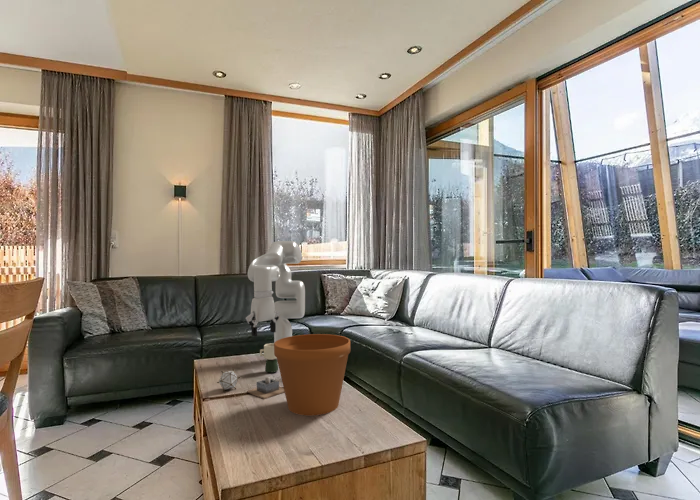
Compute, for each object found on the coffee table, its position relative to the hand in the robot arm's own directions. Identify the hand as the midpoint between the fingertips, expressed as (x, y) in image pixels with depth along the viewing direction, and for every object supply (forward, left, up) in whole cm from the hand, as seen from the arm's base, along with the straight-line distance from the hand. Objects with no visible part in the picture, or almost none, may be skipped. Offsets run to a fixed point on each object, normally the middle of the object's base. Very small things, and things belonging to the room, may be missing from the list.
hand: (263, 333), depth 170 cm
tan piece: (+5, +9, -22) cm, 24 cm away
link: (+5, +9, -21) cm, 24 cm away
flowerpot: (+3, +35, -22) cm, 41 cm away
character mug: (-13, -13, -22) cm, 29 cm away
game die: (+14, -6, -22) cm, 27 cm away
